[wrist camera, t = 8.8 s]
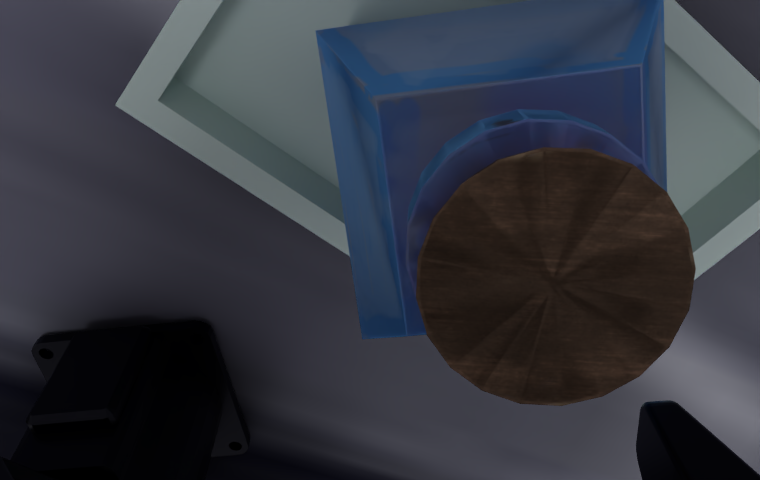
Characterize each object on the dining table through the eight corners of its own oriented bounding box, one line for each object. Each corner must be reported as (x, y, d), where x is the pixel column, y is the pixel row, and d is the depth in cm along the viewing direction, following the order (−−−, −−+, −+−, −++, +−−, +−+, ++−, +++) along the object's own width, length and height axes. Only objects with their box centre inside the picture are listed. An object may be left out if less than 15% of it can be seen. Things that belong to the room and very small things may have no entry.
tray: (802, 127, 21) (843, 163, 19) (543, 342, 26) (555, 388, 24) (368, -291, 16) (364, -299, 14) (141, 73, 21) (114, 105, 19)
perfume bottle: (378, 247, 21) (327, 529, 9) (347, 25, 19) (240, 41, 8) (597, 223, 20) (824, 492, 9) (585, -8, 19) (852, -43, 7)
